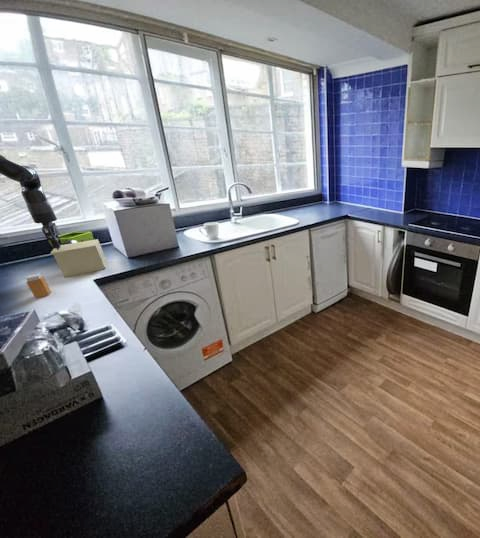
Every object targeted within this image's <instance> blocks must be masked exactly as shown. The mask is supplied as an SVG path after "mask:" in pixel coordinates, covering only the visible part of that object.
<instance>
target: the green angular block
mask: <svg viewBox="0 0 480 538" xmlns="http://www.w3.org/2000/svg"><path fill="white" fill-rule="evenodd" d="M50 238H52V237H51V236H50ZM59 238H60V240H61V242H62V243H63V242H66V241H71V240H75V241H77V243H78V242H84V241H90V240H94V235H93V232H92V231H70V232H66V233H62V234H59ZM48 243H49V244H50V246H51V247H52V248H53V246H52V244H51V242H50V241H48Z"/></svg>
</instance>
